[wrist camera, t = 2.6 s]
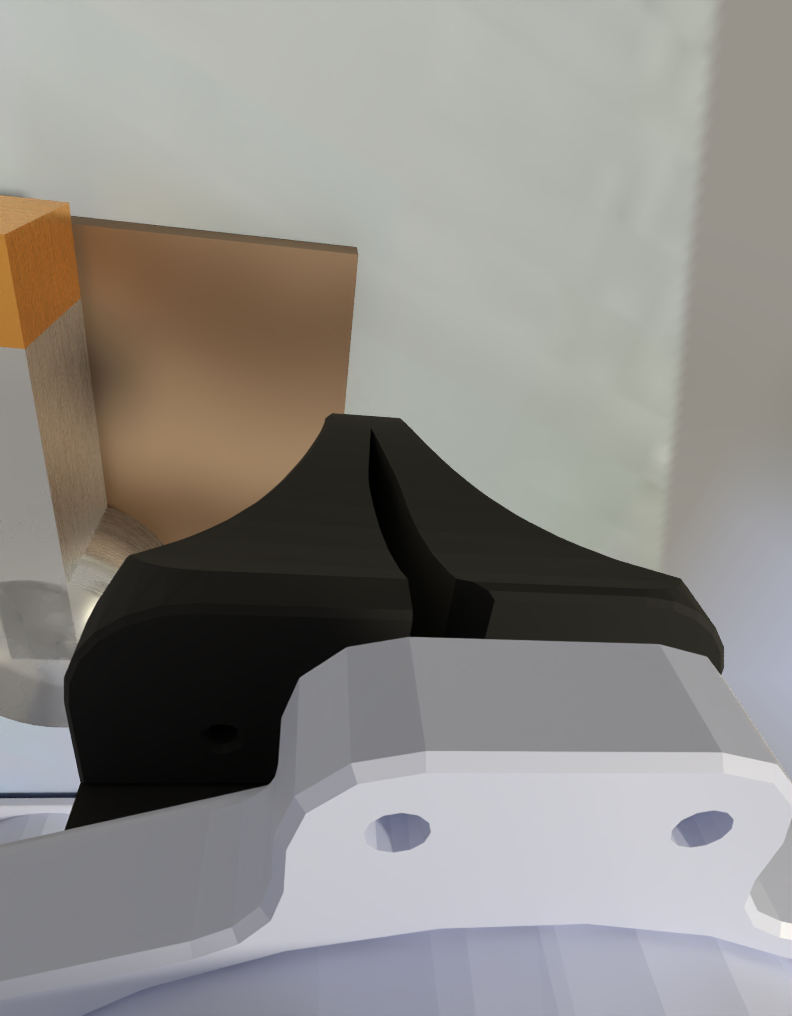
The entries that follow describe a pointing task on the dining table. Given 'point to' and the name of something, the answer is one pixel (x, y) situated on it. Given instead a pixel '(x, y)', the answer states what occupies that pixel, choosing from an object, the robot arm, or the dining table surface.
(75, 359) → the orange and grey bar
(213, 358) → the brown flat board
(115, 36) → the dining table surface
